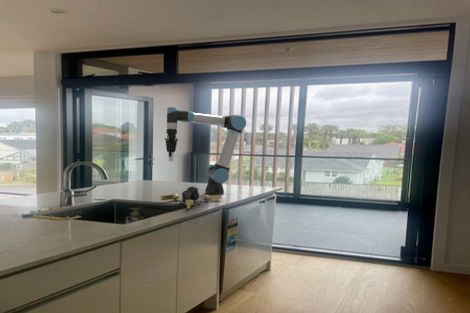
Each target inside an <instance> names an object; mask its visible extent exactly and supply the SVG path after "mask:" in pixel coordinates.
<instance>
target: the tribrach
mask: <svg viewBox="0 0 470 313" xmlns="http://www.w3.org/2000/svg"><path fill="white" fill-rule="evenodd" d="M222 195H223V194H222ZM222 195H221V194H220V195H210V194H204V195H203V200H201V199H198V200H195V201H194V200H190V199H188V200H186V202H183V201H182V199H176V200H175V201H174V202H175V203H174V205H175V206H186V209H190V208H191V207H192V205H195V206H201V205H203V203H209V201H211V200H214V201H215V200H222V199H223V198H222V197H223V196H222ZM177 201H179V202H177ZM202 202H203V203H202ZM200 204H201V205H200Z"/></svg>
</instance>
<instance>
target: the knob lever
mask: <svg viewBox="0 0 470 313" xmlns="http://www.w3.org/2000/svg"><path fill="white" fill-rule="evenodd" d="M179 197H180V196H179V193H172V194H165V195H163V194H162V195H160V201H169V200H180V198H179Z"/></svg>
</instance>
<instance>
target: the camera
mask: <svg viewBox="0 0 470 313" xmlns="http://www.w3.org/2000/svg"><path fill="white" fill-rule="evenodd" d="M181 196H182V197H181V200H182V201H183V202H186V200H188V199H190V200H194V201H195V200H199V198H200V193H199V188H197V187H195V186H192V185H191V186H189V187H187V188H186V190H184V191H182V192H181Z"/></svg>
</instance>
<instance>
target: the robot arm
mask: <svg viewBox="0 0 470 313" xmlns="http://www.w3.org/2000/svg"><path fill="white" fill-rule="evenodd" d="M178 109H179V108H178V107H174V106H172V107H171V106H168V107H167V109H166V110H167V111H166V132H165V133H166V134H167V136H166V137H165V138H164V141H165V147H166V148H165V149H166V151H167V153H168V162H174V153H175V152H176V149H177V146H178V145H177V144H178V141H179V138H177V134H178V122H181V123H192V124H200V125H202V124H203V125H210V126H217V127H218V126H219V127H221V128H224V129H226V130H227V134H226V137H225V140H224V143H223V145H222V149H221V152H220V155H219V158H218V161H217V162H216V163H215V164H209V165H208V167H207V184H206V187H205V189H204V190H205V191H204V193H205V195H220V194H221V195H224V194H225V190H224V186H223V184H224V183H226V182H227V181H229V177H230V174H229V172H230V169H231V168H230V163H231V161H232V157H233V153H234V151H235V148H236V145H237V142H238V138H239V136H240V135H242V133H243V130H244V129H245V128H246V126H247V119H246V117H245V116H243V115H242V114H239V113H236V114H232V115H230V114H229V115H214V114H206V113H205V114H204V113H197V112H196V113H195V112H194V111H190V110H180V109H179V110H178Z"/></svg>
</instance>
